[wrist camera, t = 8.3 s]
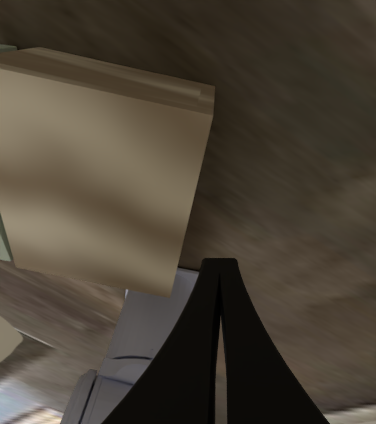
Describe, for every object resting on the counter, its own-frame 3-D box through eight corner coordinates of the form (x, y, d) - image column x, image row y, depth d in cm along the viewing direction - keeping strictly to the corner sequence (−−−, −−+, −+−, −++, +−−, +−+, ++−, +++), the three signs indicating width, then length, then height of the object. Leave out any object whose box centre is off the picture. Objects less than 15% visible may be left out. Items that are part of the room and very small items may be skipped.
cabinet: (180, 238, 24) (169, 298, 19) (59, 214, 24) (15, 267, 19) (215, 86, 17) (213, 115, 12) (39, 46, 16) (-44, 59, 11)
